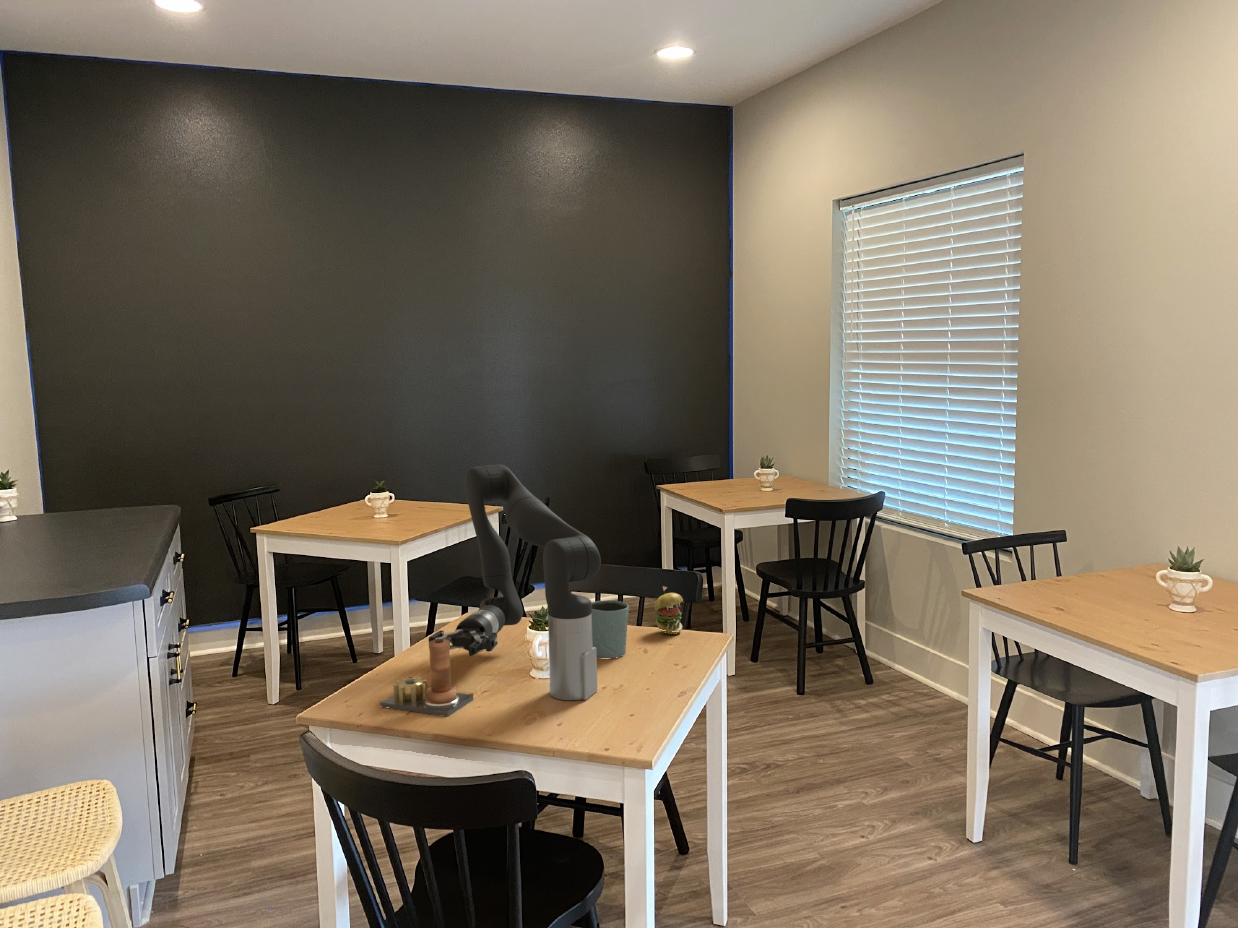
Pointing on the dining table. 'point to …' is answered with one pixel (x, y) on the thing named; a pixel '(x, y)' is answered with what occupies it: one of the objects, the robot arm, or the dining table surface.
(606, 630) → the teal cup
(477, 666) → the dining table surface
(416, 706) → the carrier plate
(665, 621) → the hamburger
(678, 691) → the dining table surface
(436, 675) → the brown round post
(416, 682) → the sun gear
